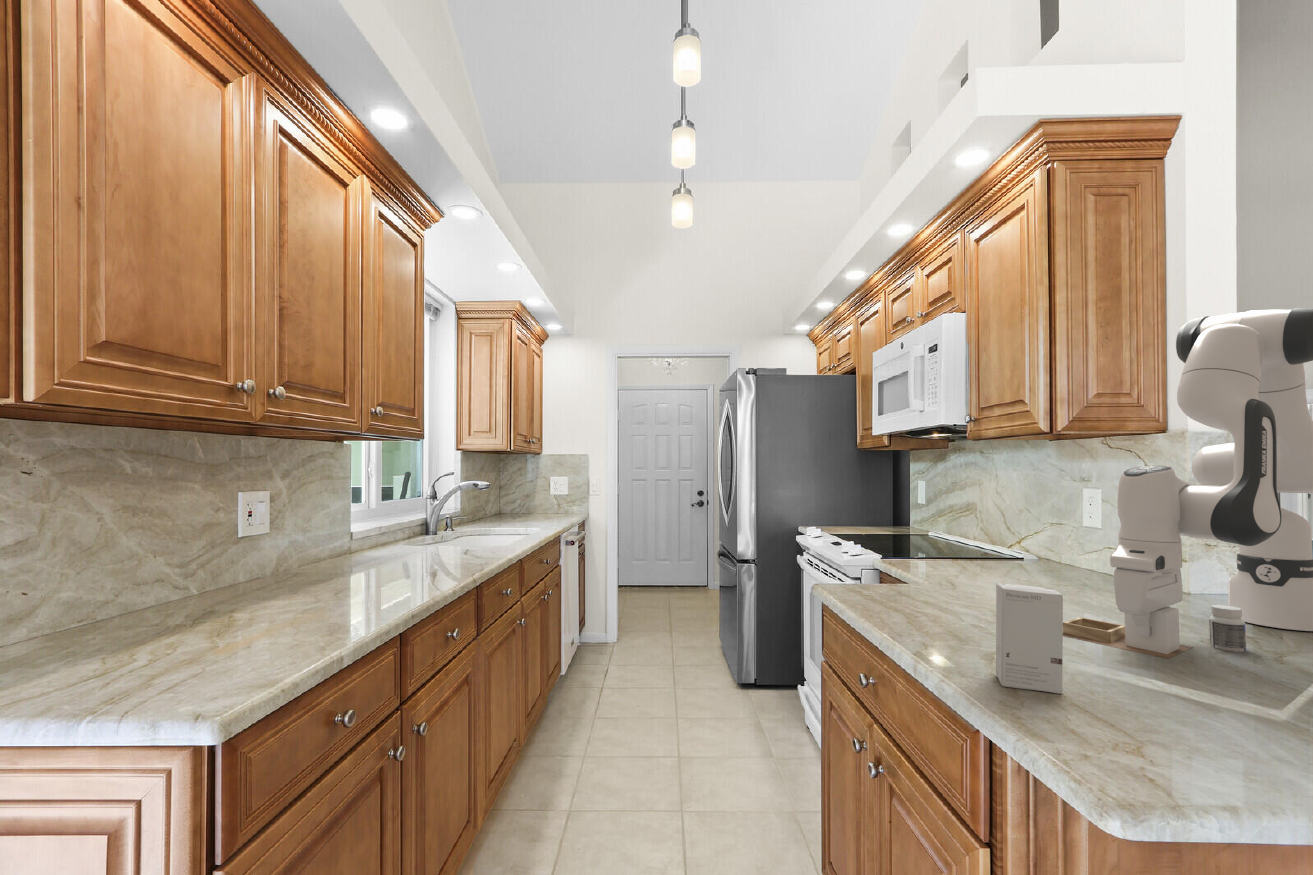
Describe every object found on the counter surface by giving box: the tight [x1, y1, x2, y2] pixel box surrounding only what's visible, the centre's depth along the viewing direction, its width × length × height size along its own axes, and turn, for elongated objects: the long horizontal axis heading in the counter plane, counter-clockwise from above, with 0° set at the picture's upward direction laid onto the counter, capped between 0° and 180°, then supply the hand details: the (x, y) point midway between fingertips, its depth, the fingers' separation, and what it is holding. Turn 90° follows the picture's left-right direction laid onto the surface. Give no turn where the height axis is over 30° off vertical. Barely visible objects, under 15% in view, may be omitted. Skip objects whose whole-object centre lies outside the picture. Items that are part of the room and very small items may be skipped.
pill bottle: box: [1208, 604, 1247, 653], centre depth 107 cm, size 5×5×8 cm
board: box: [1063, 616, 1193, 660], centre depth 111 cm, size 12×17×5 cm
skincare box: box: [995, 582, 1064, 694], centre depth 92 cm, size 8×6×15 cm
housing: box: [1124, 606, 1181, 654], centre depth 108 cm, size 6×6×7 cm
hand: (1152, 633), depth 108 cm, fingers closed on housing, 6 cm apart
